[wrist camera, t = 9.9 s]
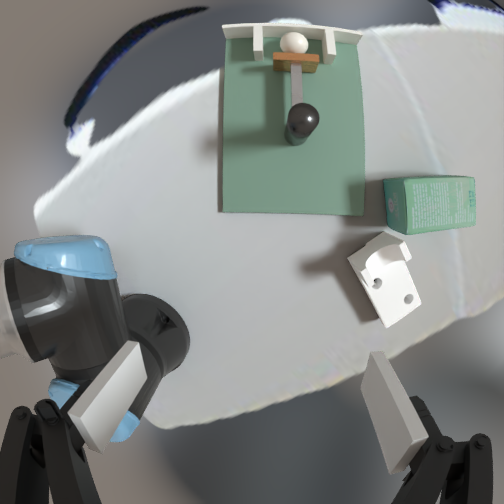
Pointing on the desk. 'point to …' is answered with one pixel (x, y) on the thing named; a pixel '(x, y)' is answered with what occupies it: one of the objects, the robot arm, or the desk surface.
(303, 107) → the small squeegee
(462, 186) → the box
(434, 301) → the desk surface
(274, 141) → the pitch
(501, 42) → the desk surface
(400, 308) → the bracket
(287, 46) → the ball
